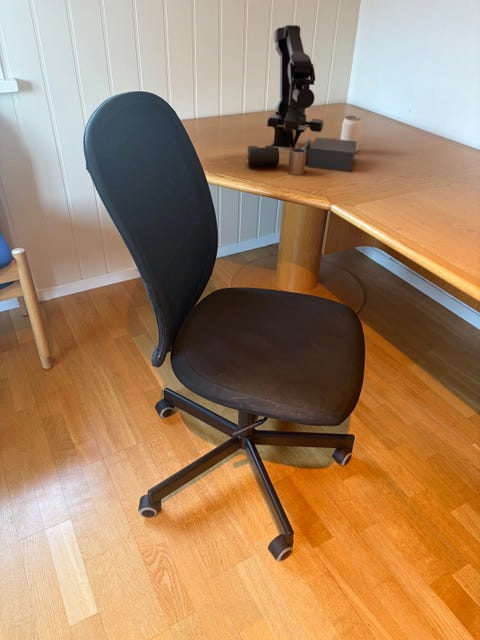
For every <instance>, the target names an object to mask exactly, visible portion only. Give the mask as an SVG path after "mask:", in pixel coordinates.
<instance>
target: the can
mask: <svg viewBox="0 0 480 640" xmlns="http://www.w3.org/2000/svg"><path fill="white" fill-rule="evenodd" d="M361 125H362V121H361V117H360V116H355V115H345V116H344V119H343V121H342V126H341V132H340V133H341V134H340V140H348V141H357V144H356V150H355V153H357V150H358V145H359V139H360V132H361Z"/></svg>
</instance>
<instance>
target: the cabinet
mask: <svg viewBox="0 0 480 640" xmlns="http://www.w3.org/2000/svg"><path fill="white" fill-rule="evenodd" d="M356 144H357V141H348V140H341V139H339V138H329V137H318V136H317V137H316V136H315V139H314V140H313V142H312V143H311V145H310V154H309V163H308V162H307V163H308V164H307V167H308V168H314V169H324V170H331V171H341V172H349V173H350V172H351V170H352V167H353V165H354V161H355V156H356V152H355V150H356Z"/></svg>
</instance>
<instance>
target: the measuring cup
mask: <svg viewBox="0 0 480 640" xmlns="http://www.w3.org/2000/svg"><path fill="white" fill-rule="evenodd" d="M280 150H281V151H286V152H287V151H288V152H289V157H288V158H289V159H288V170H287V172H288V173H289V174H290V175H293V176H301V175H304V174H305V169H306V161H307V158H306V152H307V150H305V149H303V148H292V147H291V148H287V147H282V148H281V149H280Z"/></svg>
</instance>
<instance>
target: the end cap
mask: <svg viewBox="0 0 480 640" xmlns="http://www.w3.org/2000/svg"><path fill="white" fill-rule="evenodd" d="M246 151H247V153H248V154H247V156H246V158H247V166H248V168H249V169H268V168H269V169H271V168H277V167H278V166H279V163H280V149H279V146H275V145H265V146H264V147H258V146H257V145H248V147H247V150H246Z"/></svg>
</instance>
